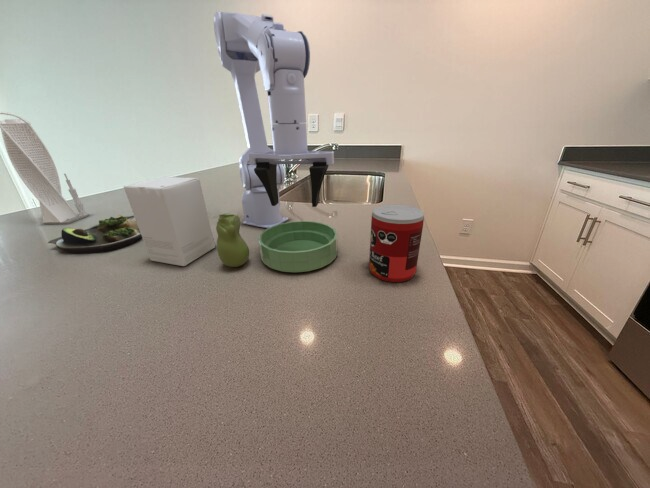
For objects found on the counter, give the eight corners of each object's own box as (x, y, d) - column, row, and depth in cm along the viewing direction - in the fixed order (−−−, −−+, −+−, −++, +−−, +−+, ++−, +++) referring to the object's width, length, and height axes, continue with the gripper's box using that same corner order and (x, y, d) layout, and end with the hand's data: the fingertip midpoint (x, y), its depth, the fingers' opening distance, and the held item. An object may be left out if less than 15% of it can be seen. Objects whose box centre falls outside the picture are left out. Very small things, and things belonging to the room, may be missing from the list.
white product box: (217, 247, 56) (201, 177, 49) (184, 267, 48) (160, 188, 42) (184, 242, 58) (165, 175, 52) (148, 260, 51) (121, 185, 44)
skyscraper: (63, 225, 71) (6, 111, 59) (34, 226, 71) (-28, 112, 59) (89, 215, 78) (44, 112, 66) (63, 215, 78) (13, 113, 66)
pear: (226, 258, 51) (216, 210, 47) (253, 257, 51) (245, 208, 47) (218, 273, 46) (205, 220, 42) (247, 271, 46) (238, 219, 42)
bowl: (245, 263, 49) (241, 242, 47) (290, 235, 61) (289, 217, 59) (312, 283, 42) (311, 259, 40) (349, 247, 54) (349, 227, 52)
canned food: (364, 261, 48) (367, 205, 44) (405, 259, 49) (412, 203, 44) (375, 285, 42) (379, 221, 37) (423, 281, 42) (433, 218, 37)
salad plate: (105, 222, 72) (98, 207, 70) (170, 220, 72) (165, 204, 70) (38, 255, 54) (26, 235, 52) (124, 252, 55) (115, 232, 53)
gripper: (235, 125, 39) (248, 210, 45) (329, 122, 37) (330, 212, 43) (254, 124, 46) (263, 199, 51) (335, 122, 43) (335, 200, 49)
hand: (294, 204), depth 48 cm, fingers open, 7 cm apart
